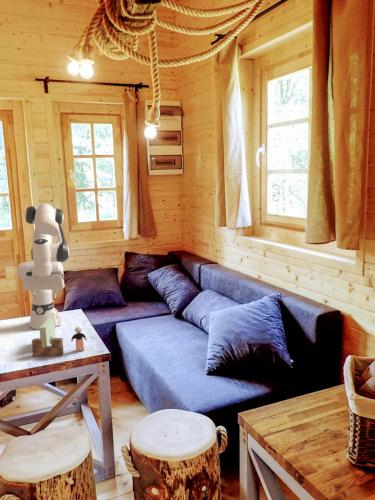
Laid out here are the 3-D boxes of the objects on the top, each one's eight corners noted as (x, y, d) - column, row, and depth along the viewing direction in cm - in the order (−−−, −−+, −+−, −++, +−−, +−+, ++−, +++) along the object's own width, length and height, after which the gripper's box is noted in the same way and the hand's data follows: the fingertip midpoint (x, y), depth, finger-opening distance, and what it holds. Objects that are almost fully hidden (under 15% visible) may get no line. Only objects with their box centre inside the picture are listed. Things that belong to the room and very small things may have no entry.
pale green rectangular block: (49, 340, 229) (48, 318, 227) (55, 340, 229) (53, 318, 227) (41, 350, 215) (39, 327, 214) (47, 350, 215) (45, 327, 214)
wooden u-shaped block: (33, 356, 208) (31, 340, 207) (35, 354, 211) (33, 338, 210) (61, 355, 208) (60, 340, 207) (63, 353, 211) (62, 337, 210)
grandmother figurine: (86, 347, 218) (84, 323, 216) (88, 350, 214) (86, 326, 212) (70, 350, 214) (69, 326, 212) (72, 353, 211) (71, 328, 209)
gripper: (65, 269, 219) (66, 296, 222) (25, 270, 219) (27, 296, 221) (61, 272, 213) (63, 299, 215) (20, 273, 213) (22, 300, 215)
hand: (44, 298), depth 218 cm, fingers open, 8 cm apart
